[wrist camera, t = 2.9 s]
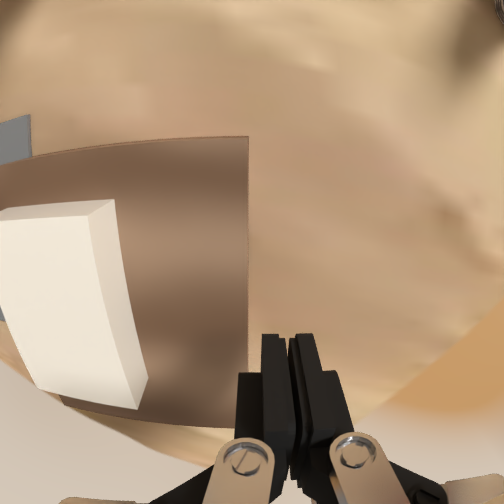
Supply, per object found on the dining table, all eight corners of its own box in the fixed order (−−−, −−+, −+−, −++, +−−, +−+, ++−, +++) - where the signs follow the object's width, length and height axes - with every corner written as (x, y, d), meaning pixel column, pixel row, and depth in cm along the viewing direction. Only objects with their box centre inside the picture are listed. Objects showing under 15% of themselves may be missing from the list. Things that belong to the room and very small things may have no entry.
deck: (35, 155, 14) (-11, 168, 10) (248, 136, 14) (247, 138, 10) (85, 367, 19) (64, 405, 16) (248, 381, 20) (247, 428, 16)
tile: (7, 207, 11) (-24, 223, 9) (114, 199, 11) (87, 215, 9) (54, 363, 14) (37, 388, 12) (148, 377, 14) (137, 409, 12)
